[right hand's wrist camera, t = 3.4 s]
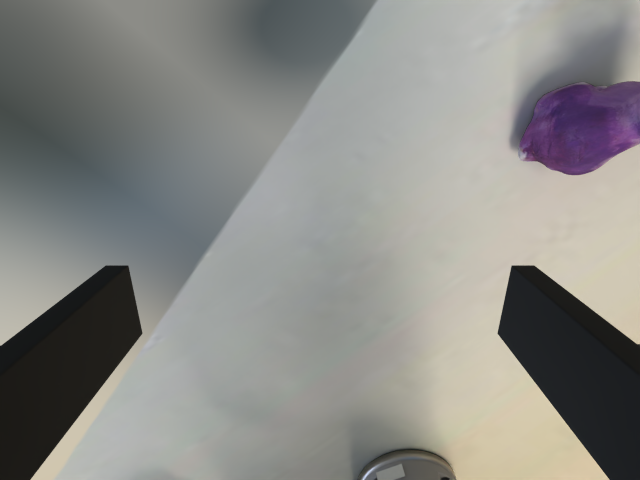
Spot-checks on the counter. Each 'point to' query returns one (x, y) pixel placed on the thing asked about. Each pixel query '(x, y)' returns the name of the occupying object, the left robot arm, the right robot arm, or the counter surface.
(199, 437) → the counter surface
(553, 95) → the figurine
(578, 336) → the right robot arm
